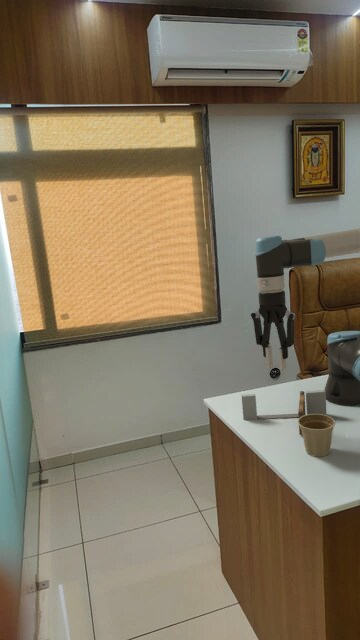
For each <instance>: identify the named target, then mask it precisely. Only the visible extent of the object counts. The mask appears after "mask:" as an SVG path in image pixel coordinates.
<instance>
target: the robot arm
mask: <svg viewBox="0 0 360 640" xmlns="http://www.w3.org/2000/svg"><path fill="white" fill-rule="evenodd" d="M254 246H255V250H254V251H255V255H254V256H255V262H256V274H257V275H256V276H257V277H256V279H257V290H258V291H259V292H258V305H259V307H258V310H257V311H253V312H252V313H250V317H251V319H252V321H253V327H254V336H255V337H254V338H255V342H256V345H259V346H261V347H262V353H263V354H262V355H263V357H264V358H265V359H266V369H267V370H270V369H271V368H273V366H274V365H273V363H274V362H273V351H272V350H273V346H272V345H271V342H270V338H271V329H272V324H274V325H275V326H274V327H276V331H277V335H278V336H277V337H278V339H279V344H280V345H279V346H280V348H278V359H279V370H280V371H284V370H285V369H287V364H286V362H287V361H286V360H287V359H288V357H289V350H288V349H289V348H291V347H293V345H294V344H295V320H296V317H297V313H296V312H292V311H290V310H288V308H287V306H286V304H287V303H286V301H287V300H286V291H285V288H286V287H285V272H284V270H285V269H290V268H298V267H299V268H300V267H301V268H302V267H314V266H318V265H322V264H323V263H324V262H325V260H326V259H327V258H334V257H340V256H344V255H345V256H346V255H352V254H358V253H360V228H354V229H348V230H341V231H336V232H330V233H329V232H328V233H323V234H316V235H311V236H305V237H300V238H299V237H298V238H293V239H283V238H282V236H281V235H275V236H274V235H273V236H271V235H270V236H263V237H258V238H256V240H255V245H254ZM285 316H286V317H285ZM284 317H285V318H286V319H287V321H286V329H285V325H284V324H285V321H284ZM261 318H262V319H263V321H262V320H261ZM262 322H263V323H262ZM262 324H263V329H262ZM326 345H327V359H328V360H327V363H328V365H327V366H328V377H327V379H326V383H325V386H324V389H323V390H325V392H326V401H328V402H329V403H333V404H336V405H340V406H360V330H347V331H346V330H344V331H337V332H336V331H335V332H332V333H330V334H328V335H327V343H326Z"/></svg>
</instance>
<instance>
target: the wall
mask: <svg viewBox="0 0 360 640" xmlns="http://www.w3.org/2000/svg"><path fill="white" fill-rule="evenodd" d="M241 405H242V407H241V408H242V417H243V420H247V421H248V420H257V421H258V420H277V419H279V420H280V419H299V416H298V413H284V414H282V413H281V414H280V413H279V414H263V415H258V411H257V399H256V394H255V393H251V394H250V393H247V394H244V393H243V394H241ZM305 411H306V415H308V414H323V415H327V416H328V414H327V400H326V392H325V390H324V389H320V390H306V391H305Z"/></svg>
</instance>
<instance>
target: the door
mask: <svg viewBox="0 0 360 640" xmlns="http://www.w3.org/2000/svg"><path fill="white" fill-rule="evenodd" d="M297 411H298V413H297V414H298V416H299V418H300V417H302V416H304V415H307V413H306V393H305V391H303V390H301V391H299V401H298V410H297ZM299 418H298V419H299ZM298 432H299V435H300V436H303V435H302V430H301V428H300V426H299V425H298Z"/></svg>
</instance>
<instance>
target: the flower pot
mask: <svg viewBox="0 0 360 640" xmlns="http://www.w3.org/2000/svg"><path fill="white" fill-rule="evenodd" d="M297 424H298V427H299V426H300V428H301V430H302V435H301V436H302V439H303V443H304V448H305V452H306V454H308V455H311V456H313V457H326V456H327V455H328V454H330V452H331V445H332V435H333V430H334V427H335V425H336V420H335V419H334V418H333V417H331V416H329V415H328V414H327V415H323V414H308V415H307V414H306V415H304V416H302V417H300V418H297Z"/></svg>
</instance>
